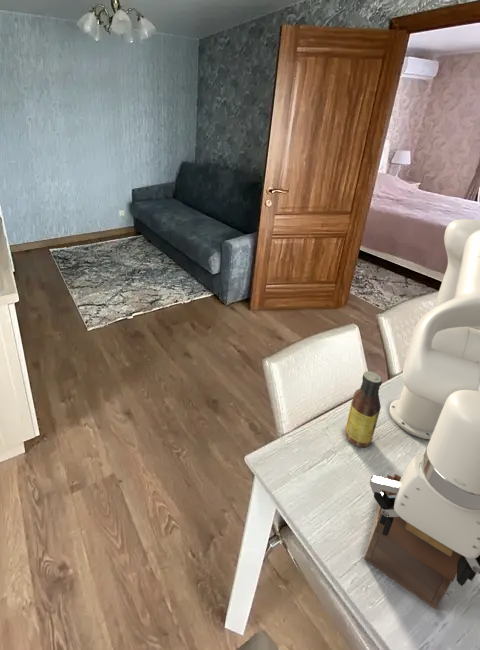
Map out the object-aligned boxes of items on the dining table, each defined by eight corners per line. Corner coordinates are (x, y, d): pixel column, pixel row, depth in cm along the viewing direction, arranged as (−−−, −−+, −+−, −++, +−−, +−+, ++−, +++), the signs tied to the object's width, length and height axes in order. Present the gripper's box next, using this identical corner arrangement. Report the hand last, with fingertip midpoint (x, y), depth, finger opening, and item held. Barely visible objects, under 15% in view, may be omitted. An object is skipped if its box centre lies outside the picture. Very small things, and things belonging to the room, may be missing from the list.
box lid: (394, 473, 57) (388, 504, 53) (482, 521, 51) (483, 561, 46) (375, 527, 62) (367, 559, 58) (452, 577, 56) (451, 618, 51)
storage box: (378, 501, 75) (388, 474, 72) (441, 539, 69) (455, 511, 65) (363, 559, 66) (374, 530, 62) (435, 609, 59) (451, 581, 56)
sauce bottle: (374, 451, 86) (393, 390, 79) (347, 446, 87) (363, 386, 80) (366, 428, 92) (383, 370, 85) (341, 424, 93) (356, 366, 86)
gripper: (541, 495, 44) (493, 570, 51) (388, 422, 54) (365, 492, 61) (550, 549, 39) (495, 626, 45) (378, 457, 49) (354, 530, 55)
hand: (420, 549), depth 53 cm, fingers open, 9 cm apart
